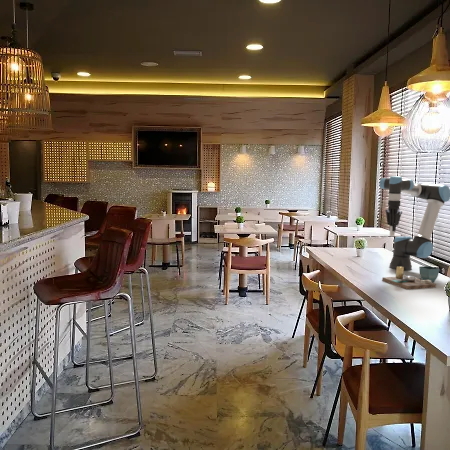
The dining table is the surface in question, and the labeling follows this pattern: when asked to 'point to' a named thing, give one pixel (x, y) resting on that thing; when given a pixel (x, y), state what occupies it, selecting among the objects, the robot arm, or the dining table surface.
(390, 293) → the dining table surface
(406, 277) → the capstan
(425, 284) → the base plate
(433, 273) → the flower pot
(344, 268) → the dining table surface
